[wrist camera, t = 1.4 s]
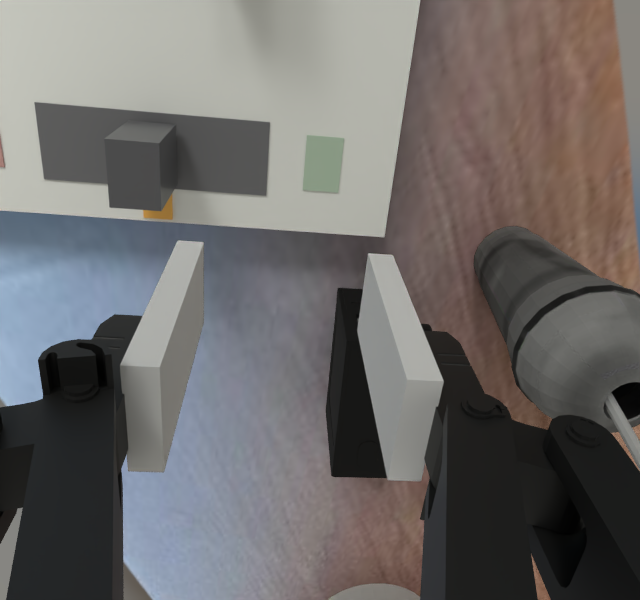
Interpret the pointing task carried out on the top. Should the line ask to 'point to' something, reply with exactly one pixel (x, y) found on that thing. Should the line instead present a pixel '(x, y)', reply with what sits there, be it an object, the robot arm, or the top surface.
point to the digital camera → (351, 398)
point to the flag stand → (376, 593)
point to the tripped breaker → (141, 165)
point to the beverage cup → (564, 331)
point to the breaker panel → (209, 106)
